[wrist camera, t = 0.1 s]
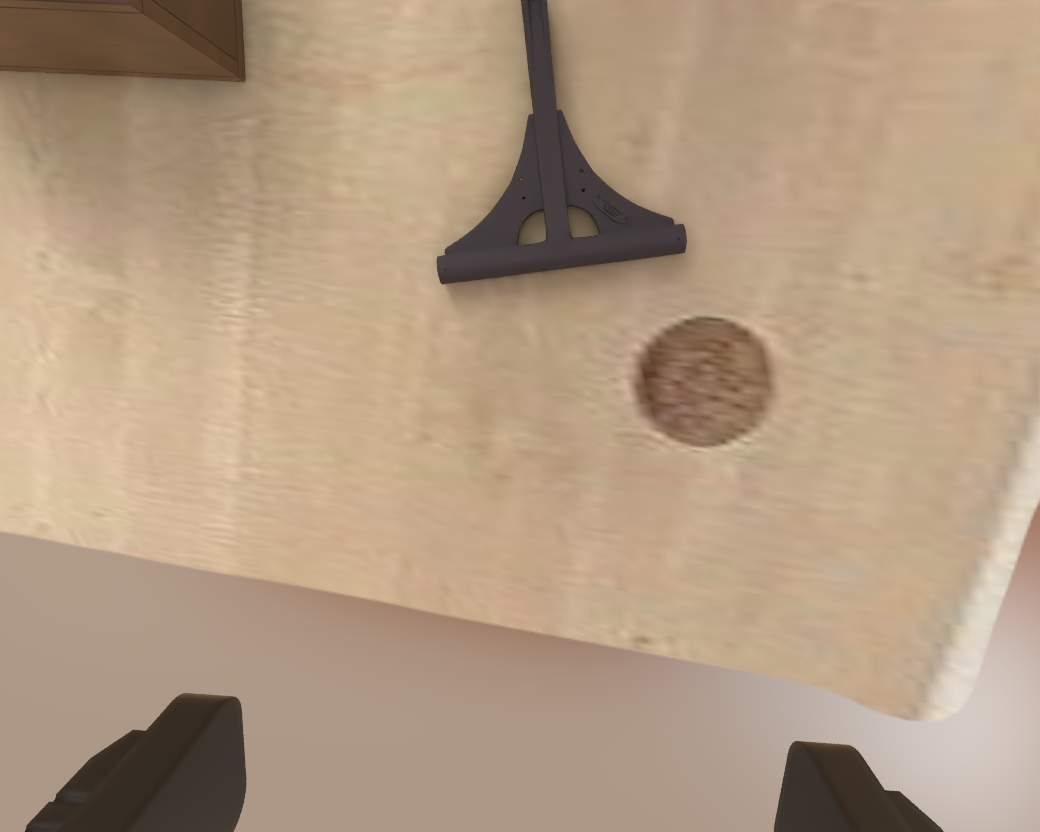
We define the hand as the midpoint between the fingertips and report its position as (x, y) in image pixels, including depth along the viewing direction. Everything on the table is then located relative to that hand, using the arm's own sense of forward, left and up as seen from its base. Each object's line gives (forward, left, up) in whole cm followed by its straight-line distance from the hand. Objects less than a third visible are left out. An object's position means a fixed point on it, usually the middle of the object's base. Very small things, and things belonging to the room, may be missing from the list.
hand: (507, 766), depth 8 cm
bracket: (-15, 0, -29) cm, 33 cm away
